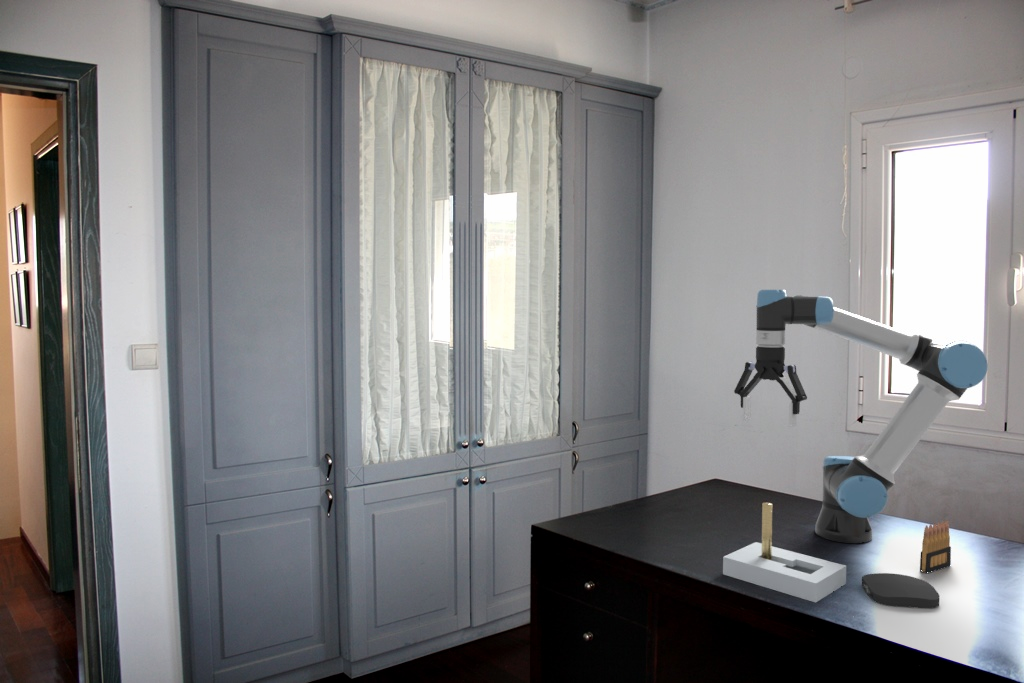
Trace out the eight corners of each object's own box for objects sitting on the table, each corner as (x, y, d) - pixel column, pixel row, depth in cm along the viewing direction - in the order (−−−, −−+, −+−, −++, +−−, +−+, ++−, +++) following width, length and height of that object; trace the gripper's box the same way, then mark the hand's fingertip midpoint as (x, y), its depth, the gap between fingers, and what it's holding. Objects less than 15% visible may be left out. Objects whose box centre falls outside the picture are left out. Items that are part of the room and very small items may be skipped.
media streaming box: (944, 611, 171) (945, 598, 171) (875, 606, 173) (875, 593, 173) (921, 586, 185) (922, 573, 185) (857, 582, 188) (857, 570, 187)
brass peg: (772, 570, 195) (774, 501, 193) (778, 577, 190) (780, 506, 188) (753, 570, 195) (755, 501, 193) (759, 577, 190) (760, 506, 189)
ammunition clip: (926, 573, 192) (928, 527, 191) (919, 571, 194) (920, 525, 193) (950, 565, 197) (952, 520, 197) (943, 563, 199) (945, 518, 198)
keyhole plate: (845, 583, 186) (846, 565, 185) (815, 602, 175) (816, 583, 174) (755, 558, 203) (755, 542, 203) (722, 574, 192) (723, 556, 192)
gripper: (722, 344, 215) (721, 418, 217) (808, 349, 197) (806, 430, 199) (736, 342, 220) (735, 415, 222) (821, 347, 202) (819, 426, 204)
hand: (768, 422), depth 210 cm, fingers open, 13 cm apart
